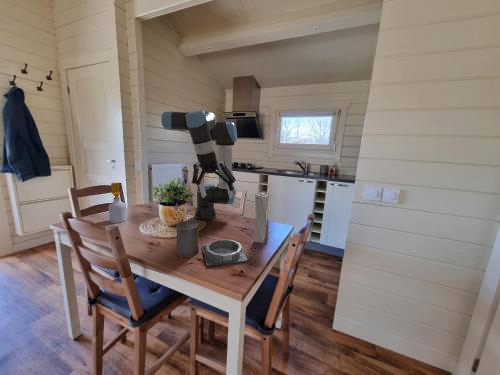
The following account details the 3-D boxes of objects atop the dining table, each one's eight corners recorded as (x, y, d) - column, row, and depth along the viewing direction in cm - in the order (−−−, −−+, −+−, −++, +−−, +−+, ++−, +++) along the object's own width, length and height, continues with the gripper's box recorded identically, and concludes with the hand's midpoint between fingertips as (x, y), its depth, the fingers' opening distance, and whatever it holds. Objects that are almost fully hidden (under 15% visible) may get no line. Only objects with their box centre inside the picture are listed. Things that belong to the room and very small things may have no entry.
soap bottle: (110, 224, 127) (107, 184, 123) (108, 219, 134) (105, 181, 130) (127, 221, 133) (125, 183, 128) (125, 217, 140) (122, 180, 135)
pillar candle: (190, 245, 106) (190, 217, 103) (202, 252, 100) (202, 222, 97) (172, 252, 99) (171, 221, 96) (184, 260, 92) (183, 227, 89)
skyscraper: (266, 245, 110) (270, 192, 105) (251, 243, 111) (254, 191, 106) (268, 238, 118) (271, 189, 113) (253, 236, 120) (256, 188, 114)
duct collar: (202, 247, 104) (202, 240, 103) (237, 244, 110) (237, 236, 109) (206, 267, 87) (206, 258, 87) (248, 262, 93) (248, 253, 92)
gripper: (174, 156, 86) (189, 200, 96) (229, 153, 78) (240, 201, 88) (184, 150, 93) (197, 192, 102) (236, 146, 84) (246, 192, 94)
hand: (217, 196), depth 95 cm, fingers open, 13 cm apart
